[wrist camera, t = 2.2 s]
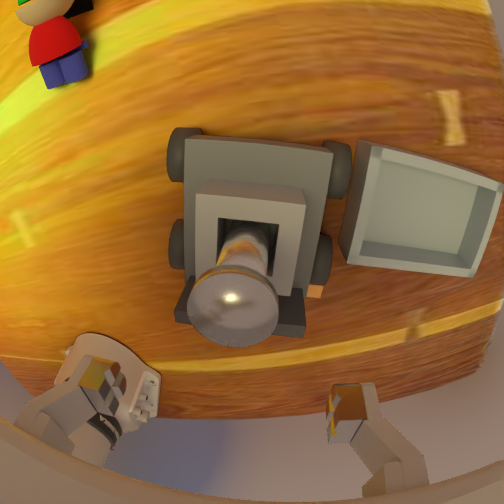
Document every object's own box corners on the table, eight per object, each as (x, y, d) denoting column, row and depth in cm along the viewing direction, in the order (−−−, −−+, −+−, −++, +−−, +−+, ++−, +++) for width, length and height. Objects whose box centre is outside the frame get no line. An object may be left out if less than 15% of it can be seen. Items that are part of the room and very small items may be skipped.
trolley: (317, 282, 33) (329, 357, 23) (184, 267, 34) (149, 335, 24) (344, 141, 26) (384, 165, 16) (184, 125, 27) (131, 140, 16)
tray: (456, 258, 30) (473, 277, 26) (338, 242, 31) (346, 263, 27) (482, 173, 25) (504, 184, 21) (358, 139, 26) (371, 145, 22)
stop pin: (275, 253, 25) (272, 351, 15) (222, 247, 25) (189, 340, 15) (282, 202, 23) (284, 282, 13) (224, 196, 23) (185, 270, 13)
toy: (118, 53, 26) (96, -55, 13) (85, 84, 22) (50, -46, 9) (63, 68, 26) (36, -27, 14) (28, 101, 22) (-11, -7, 9)
